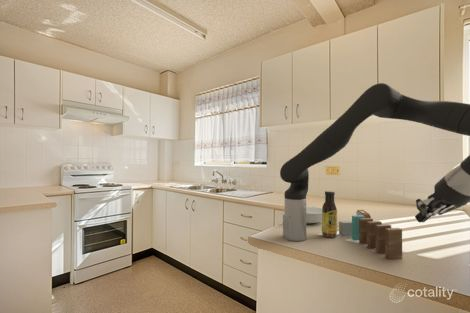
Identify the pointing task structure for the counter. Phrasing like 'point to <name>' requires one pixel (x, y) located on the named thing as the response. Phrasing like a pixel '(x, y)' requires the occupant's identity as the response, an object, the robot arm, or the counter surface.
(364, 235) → the domino
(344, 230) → the block
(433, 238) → the counter surface
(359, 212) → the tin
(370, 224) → the domino
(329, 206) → the sauce bottle
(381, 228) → the domino
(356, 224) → the domino
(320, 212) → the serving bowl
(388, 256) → the domino
